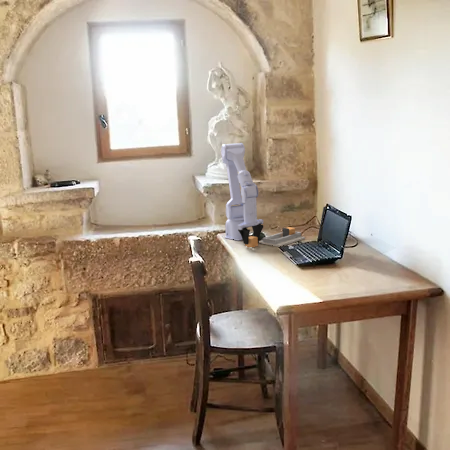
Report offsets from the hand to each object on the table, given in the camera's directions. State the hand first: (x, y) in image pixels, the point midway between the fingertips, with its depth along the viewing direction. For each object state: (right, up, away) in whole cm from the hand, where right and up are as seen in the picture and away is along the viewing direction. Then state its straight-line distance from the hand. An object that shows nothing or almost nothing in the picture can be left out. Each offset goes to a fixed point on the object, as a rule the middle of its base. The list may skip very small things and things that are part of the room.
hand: (251, 242), depth 264 cm
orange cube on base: (0, -2, +1) cm, 2 cm away
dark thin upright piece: (+33, +1, +6) cm, 34 cm away
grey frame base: (+14, +1, +7) cm, 16 cm away
